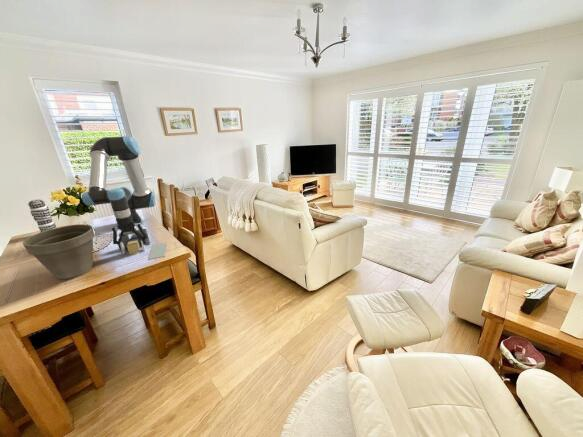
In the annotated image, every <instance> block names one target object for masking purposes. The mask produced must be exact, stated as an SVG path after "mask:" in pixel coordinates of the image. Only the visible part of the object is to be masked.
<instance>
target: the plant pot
mask: <svg viewBox="0 0 583 437" xmlns="http://www.w3.org/2000/svg"><path fill="white" fill-rule="evenodd" d="M94 237H95V232H94V228H93V226H92V225H90V224H83V223H82V224H70V225H64V226H59V227H56V228H54V229H50V230H47V231H44V232H41V231H40V232H38V233H35V234H33V235H31V236H29V237H27V238H25V239H24V241H23V242H22V245H23V247H24V248H25V250H26V252H27V253H28V255H29V254H30V255H33V257H35V259H36V260H37V261H38V262H40V264H42V266H44V268H46V270H48V271H49V273H50V274H52V275H53V276H54V277H55V278H57V280H58V279H59V280H69V279H70V280H71V279H72V278H73V279H74V278H76V277H79V276H82V275H84V274H86V273H88V272H89V271H91V269H92V268H93V265H94Z"/></svg>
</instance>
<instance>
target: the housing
mask: <svg viewBox="0 0 583 437" xmlns="http://www.w3.org/2000/svg"><path fill="white" fill-rule="evenodd" d="M136 230H137V231H138V232H139V233H140V234H141V235H142V233H141V232H140V230H139V229H136ZM143 230H144V231H145V233H146V234H147V236H148V237H147V239H145V241H146V245H145V247H146V246H150V244H151V241H150V237H149V234H148V230H147V228H143ZM120 233H121V232H119V233H118V238H119V237H120ZM132 234H134V233H133V232H132V231H131V232H126V233H125V232H124V234H123V237H122V240H121V243H122V242H123V245H124V248H125V250H128V248H127V244H128V242H129V240H130V237H129V235H132Z"/></svg>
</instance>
